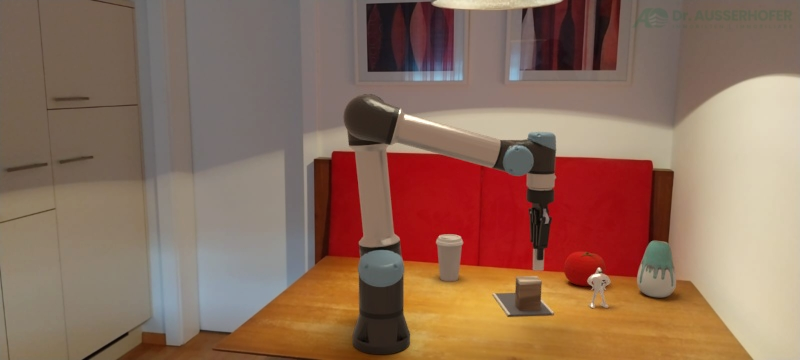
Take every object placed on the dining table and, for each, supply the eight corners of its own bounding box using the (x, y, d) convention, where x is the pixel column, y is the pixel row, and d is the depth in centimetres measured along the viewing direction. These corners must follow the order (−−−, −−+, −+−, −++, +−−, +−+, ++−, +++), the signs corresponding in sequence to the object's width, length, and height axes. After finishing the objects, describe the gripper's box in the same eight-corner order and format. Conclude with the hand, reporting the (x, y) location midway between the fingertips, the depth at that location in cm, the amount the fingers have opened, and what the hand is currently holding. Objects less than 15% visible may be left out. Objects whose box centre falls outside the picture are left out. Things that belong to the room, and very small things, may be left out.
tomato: (560, 277, 208) (561, 246, 206) (600, 278, 207) (602, 247, 205) (566, 289, 196) (568, 256, 194) (609, 290, 195) (611, 257, 193)
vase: (650, 286, 199) (654, 234, 196) (682, 296, 190) (686, 242, 187) (628, 292, 193) (632, 239, 190) (660, 303, 183) (664, 247, 181)
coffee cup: (430, 276, 209) (430, 235, 207) (452, 272, 213) (453, 232, 211) (444, 284, 201) (445, 241, 198) (468, 280, 205) (468, 238, 203)
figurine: (588, 308, 179) (590, 270, 177) (583, 303, 183) (585, 266, 181) (611, 308, 179) (613, 270, 178) (606, 303, 184) (608, 265, 182)
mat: (554, 314, 174) (554, 312, 174) (507, 316, 173) (507, 314, 172) (534, 293, 192) (534, 291, 191) (492, 295, 190) (492, 293, 190)
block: (540, 310, 176) (541, 281, 175) (519, 310, 176) (520, 281, 174) (535, 304, 181) (536, 276, 179) (514, 305, 180) (515, 276, 179)
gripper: (562, 191, 157) (559, 276, 161) (545, 183, 170) (543, 262, 174) (534, 192, 156) (532, 277, 160) (520, 184, 169) (518, 263, 173)
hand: (538, 269), depth 167 cm, fingers closed
